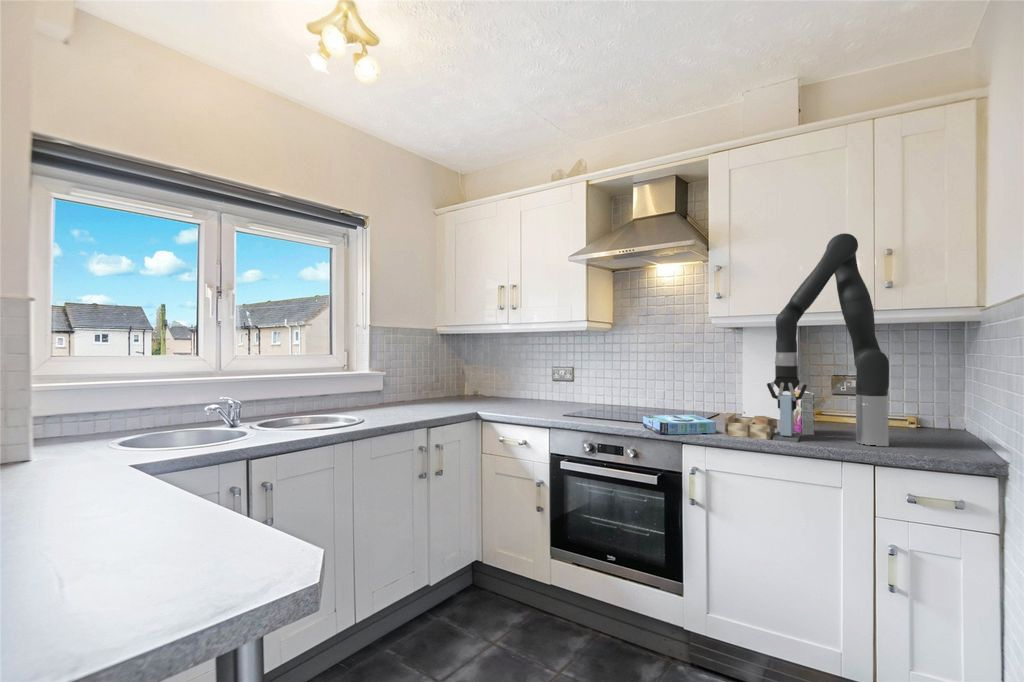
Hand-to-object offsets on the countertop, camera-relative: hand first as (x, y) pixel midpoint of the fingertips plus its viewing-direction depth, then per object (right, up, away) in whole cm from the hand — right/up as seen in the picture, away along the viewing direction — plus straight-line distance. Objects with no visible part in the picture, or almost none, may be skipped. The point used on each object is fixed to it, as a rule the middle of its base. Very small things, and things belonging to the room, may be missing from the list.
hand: (787, 410), depth 189 cm
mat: (0, -10, 0) cm, 10 cm away
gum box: (-24, -8, +19) cm, 31 cm away
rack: (-11, -11, +7) cm, 17 cm away
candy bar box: (+12, -11, +10) cm, 19 cm away
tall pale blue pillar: (0, -9, 0) cm, 9 cm away
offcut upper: (-6, -7, +4) cm, 10 cm away
